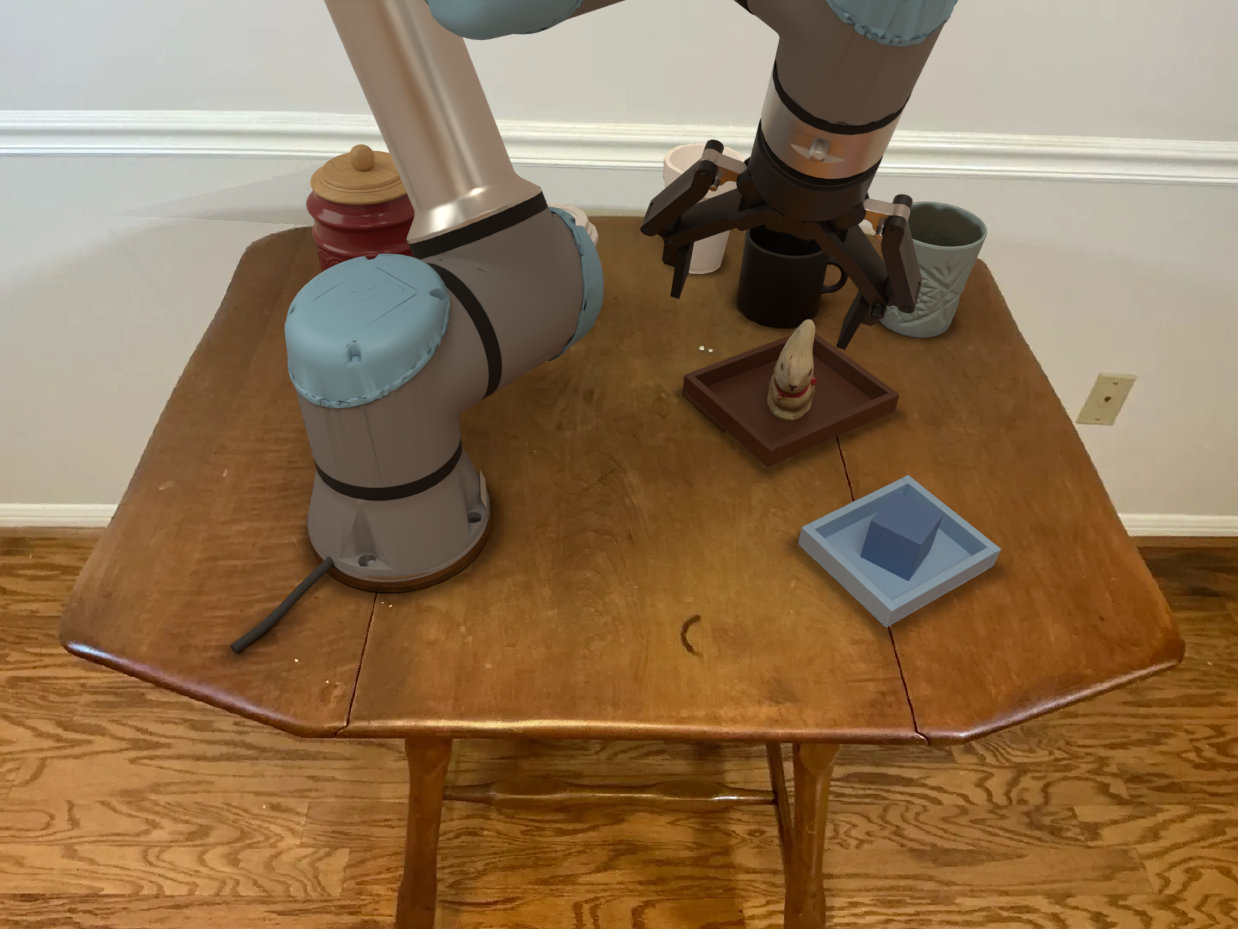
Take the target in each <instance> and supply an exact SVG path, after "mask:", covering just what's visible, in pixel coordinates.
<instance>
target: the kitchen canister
mask: <svg viewBox="0 0 1238 929" xmlns="http://www.w3.org/2000/svg"><path fill="white" fill-rule="evenodd" d="M309 185H310V188H311V191H310V193H309V194H308V196H307V197H306V201H305V207H306V210H307V212H308V214H309V215H310V216H311V217H312V218H313V219H314V223H313V226H312V229H311V235H312V239H313V240H314V242H315V247H316V251H317V252H316V253H317V256H318V261H319V266H320V271H321V272H320V273H322V272H323V271H325V270H327V269H329V268H331V267H333V266H335V265H337V264H339V263H342V262H345V261H348V260H351V259H354V258H358V257H362V256H365V257H366V258H367V259H369V260H371V259H374V258H376V257H377V256H378V255H379V254H399V255H405V256H410V257H413V258H414V256H413V254H412V252H411V249H410V247H409V245H408V242H407V240H406V239H407V236H408V233H409V230H410V228H411V225H412V222H413V220H414V212H415V211H414V209H413V206H412V204H411V202H410V199H409V197H408V195H407V192H406V190H405V188H404V185H403V183H402V181H401V178H400V176H399V174H398V172H397V169H396V167H395V165H394V162H393V160H392V158H391V155H390V153H389V152H387V151H382V150H374V149H372V148H371V147H370V146H368V145H367V144H363V143H361V144H360V143H359V144H356V145H354V146H353V147H351V149H350V150H349V152H345V153H341V154H339V155H336V156H333V157H332V158H330V159H329V160H327V161H326V162H325V164H323V165H322V166H320V167H318V168H317V169H316V170H315V171H314V172H313V173H312V175H311V177H310V179H309Z"/></svg>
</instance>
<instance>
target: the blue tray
mask: <svg viewBox="0 0 1238 929" xmlns="http://www.w3.org/2000/svg"><path fill="white" fill-rule="evenodd" d="M893 492H896V493H898V494H900V495H902V496H904V497H906V498H909V499H911V500H913V501H915V502H917V503H919V504H921V505H923V506H926V507H928V508H930V509H932V510H934V511H936V512H938V513H940V514H943V517H942V520H941V522H940V525H939V528H938V531H937V533H936V536H935V539H934V542H933V544H932V547H931V550H930V552H929V553H928V555H927V556H926V558H925V559H924V560H923V562H922V563H921V565H920V566H919V567H918V569H917V570H916V572H915V573H914V574H913V576H912V577H911V579H910V580H909V581H907V580H905V579H903V578H901V577H899V576H897V575H895V574H893V573H891V572H889V571H887V570H885V569H883V568H881V567H879V566H877V565H875V564H873V563H871V562H869V561H868V560H866V559H864V558H862V557H860V556H861V553H862V549H863V546H864V543H865V539H866V536H867V532H868V529H869V526H870V522H871V520H872V519H873V517H874V516H875V515H876V514H877V512H878V511H879V510H880V509H881V507H882V506H883V505H884V504H885V502H886V501H887V500H888V499H889V497H890V496H891V495H892V494H893ZM800 528H801V529H800V532H799V537H798V542H797V544H798V545H799V546H800V547H801V548H802V549H803V550H804V551H805V552H806V553H807V554H808V555H809V556H810V557H811V558H812V559H813V560H814V561H816V563H818V564H819V565H820V566H821V568H823V569H824V570H825V572H827V573H828V574H829V575H830V576H831V577H832V578H833V579H834V580H835V581H836V582H837V583H838V584H840V586H842V587H843V588H844V589H845V590H846V592H848V593H849V594H850V595H851V596H852V597H853V598H854V599H855V600H856V601H857V602H859V604H860V605H862V606H863V607H864V608H865V609H866V610H867V611H868V612H869V613H870V614H871V615H872V616H873V617H874V618H875V619H876V620H878V622H880V624H882V626H883V627H885V628H888V627H890V626H892V625H893V624H895V623H897V622H899V621H900V620H902V619H904V618H906V617H907V616H909V615H911V614H913V613H914V612H916V611H918V610H920V609H921V608H923V607H925V606H927V605H928V604H930V603H931V602H934V601H935V600H937V599H939V598H941V597H942V596H944V595H945V594H947V593H949V592H951V591H953V590H955V589H956V588H958V587H959V586H962V585H963V584H965V583H967V582H968V581H970V580H972V579H973V578H975V577H977V576H979V575H980V574H982V573H984V572H986V571H987V570H989V569H991V568H993V567H994V566H995V565H996V561H997V560H998V558H999V555H1000V553H1001V550H1002V548H1001V547H999V546H998V545H997V544H995V543H994V542H993V541H992V540H990V539H989V538H988V537H986V536H985V535H984V534H983V533H982V532H981V531H979V530H978V529H977V528H975V527H974V526H973V525H971V524H970V523H969V522H968V521H967V520H965V519H964V518H963V517H962V516H960V515H959V514H958V513H956V512H955V510H953V509H952V508H951V507H949V506H948V505H946V504H945V503H944V501H942V500H940V499H939V498H938V497H937V496H935V495H934V494H933V493H932V492H930V491H929V490H928V489H927V488H926V487H924V486H922V485H921V484H920V483H919V482H918V481H917V480H915V479H914V478H913V477H911V476H910V475H909V474H907V475H905V476H903V477H901V478H899V479H897V480H894V481H892V482H890V483H889V484H886V485H885V486H882V487H881V488H878V489H877V490H875V491H873V492H870V493H868V494H866V495H864V496H862V497H860V498H858V499H856V500H854V501H852V502H850V503H848V504H846V505H844V506H842V507H839V508H838V509H836V510H833V511H831V512H829V513H827V514H825V515H823V516H821V517H820V518H817V519H815V520H813V521H811V522H809V523H807V524H805V525H803V526H801V527H800Z"/></svg>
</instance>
